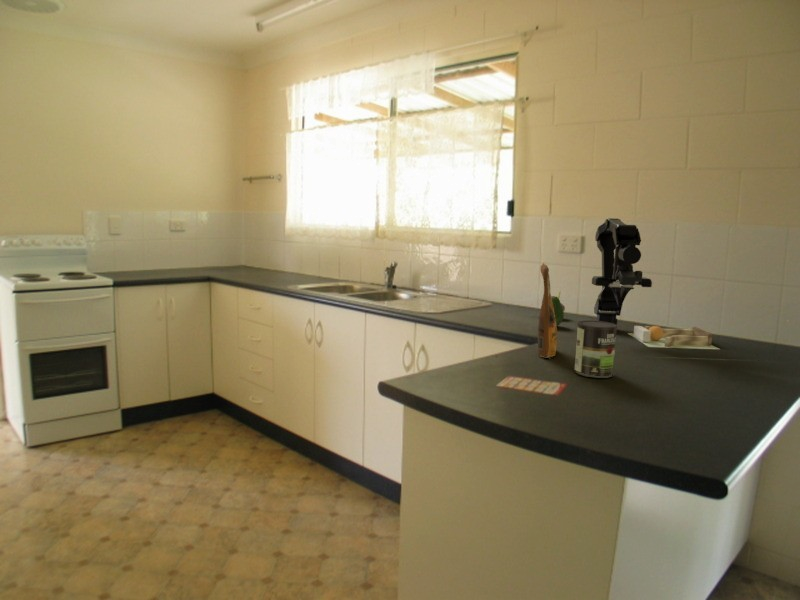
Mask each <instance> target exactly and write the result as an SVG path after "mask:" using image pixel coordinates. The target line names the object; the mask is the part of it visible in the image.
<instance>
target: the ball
mask: <svg viewBox="0 0 800 600" xmlns="http://www.w3.org/2000/svg"><path fill="white" fill-rule="evenodd" d="M650 327H651V328H649V331H651V334H650V339H652V340H659V339H661V338H662V337H663V330H662V329H663V328H662V327H660V326H658V325H653V326H650ZM661 328H662V329H661Z"/></svg>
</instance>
